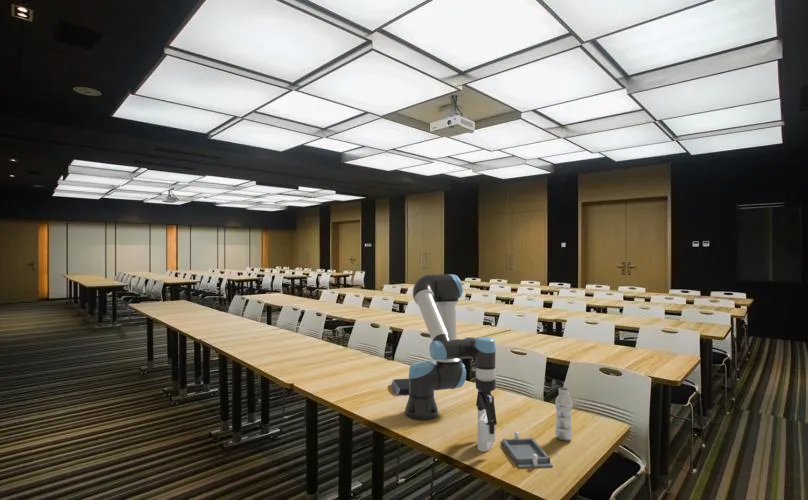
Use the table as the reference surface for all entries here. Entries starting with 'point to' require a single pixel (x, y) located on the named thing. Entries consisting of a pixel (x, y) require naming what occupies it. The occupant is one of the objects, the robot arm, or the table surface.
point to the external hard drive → (400, 386)
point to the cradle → (526, 452)
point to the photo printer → (483, 434)
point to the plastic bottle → (563, 415)
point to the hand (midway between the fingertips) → (486, 434)
